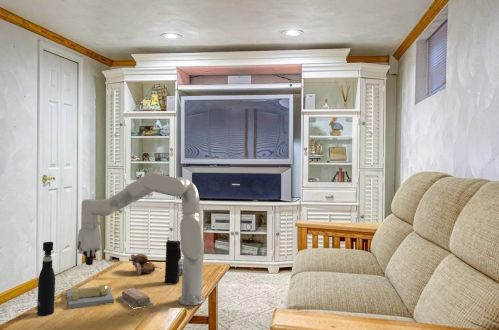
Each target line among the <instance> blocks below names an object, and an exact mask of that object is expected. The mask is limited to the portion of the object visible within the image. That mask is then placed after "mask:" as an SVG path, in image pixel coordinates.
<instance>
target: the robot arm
mask: <svg viewBox="0 0 499 330" xmlns="http://www.w3.org/2000/svg"><path fill="white" fill-rule="evenodd" d="M152 193H159V194H162V195H167V196H170V197H171V196H172V197H180V198H181V207H182V208H181V209H182V210H181V211H182V218H181V220H180V223H179V233H180V235H179V236H180V248H181V255H183V258H182V260H183V272H182V274H181V275H182V281H181V296H179V297H178V299H177V302H178V303H179V304H181V305H185V306H198V305H202V304H203V303H205V301H206V299H205V297H204V296H202V295H203V274H204V273H203V272H204V271H203V268H204V256H205V255H204V253H205V241H204V239H203V238H202V225H203V221H202V213H201V203H200V196H199V195H200V194H199V191H198V188H197V187H196V185H195V184H194V183H193V182H192V180H189V179H187V178H185V177H183V176H182V177H181V176H177V177H173V176H169V175H165V174H162V173H160V172H158V171H150V172H147V173H146V174H144V176H141V178H138V179H137V180H135V181H133V182H131V183H129V184H127V186H126V187H125V188H124V189H122V190H121V191H119V192H117V193H116V194H114V195H112V196H110V197H108V198H104V199H101V200H98V199H95V198H94V199H93V198H91V199H90V198H88V199H83V200H82V201H81V212H80V213H81V215H80V217H81V219H80V220H81V223H80V225H81V226H80V228H79V230H78V233H77V240H76V250H78V251H77V253H78V254H80V255H83V256H84V257H85V259H84V262H85V265H87V266H93V265H94V264H93V263H94V256H95V254H96V253H97V252H99V251H100V250H101V247H102V235H101V230H100V227H99V225H101V222H100V221H99V216H100V217H107V216H110V215H111V214H114V213H116V212H118V211H120V210H121V209H124V208H125V207H127V206H129V205H131V204H132V203H135V202H138V201H139V200H141V199H142V198H145V197H146V196H147V195H150V194H152Z"/></svg>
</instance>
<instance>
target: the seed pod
mask: <svg viewBox="0 0 499 330" xmlns="http://www.w3.org/2000/svg"><path fill="white" fill-rule="evenodd" d="M130 258H131V262H132V266H133V267H134V268H135V271H136V274H137V275H142V273H146V274H152V273H153V272H155V271H156V269H160V270H162V267H159V266H157V265H154V263H152V262H151V261H150V260H149V259H148V256H147V255H146V254H144V253H137V254H136V255H135V254H134V253H133V254H130Z"/></svg>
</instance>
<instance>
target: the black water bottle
mask: <svg viewBox="0 0 499 330" xmlns="http://www.w3.org/2000/svg"><path fill="white" fill-rule="evenodd" d="M42 251H43V252H44V255H43V260H42V267H41V269H40V272H39V275H38V279H37V280H38V282H37V304H36V305H37V309H36V315H38V316H39V317H47V316H52V315H53V314H54V313H55V296H56V295H55V292H56V290H55V289H56V276H55V275H56V274H55V270H54V268H53V259H52V258H53V256H52V251H54V242H53V241H44V242H43V243H42Z"/></svg>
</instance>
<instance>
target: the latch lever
mask: <svg viewBox="0 0 499 330" xmlns="http://www.w3.org/2000/svg"><path fill="white" fill-rule="evenodd" d="M71 288H72V289H71V290H72V300H78V298H82V297H92V296H105V295H107V290H108V288H109V286H108V285H107V284H101V285H98V286H91V287H90V286H89V287H78V286H73V287H71Z"/></svg>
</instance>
